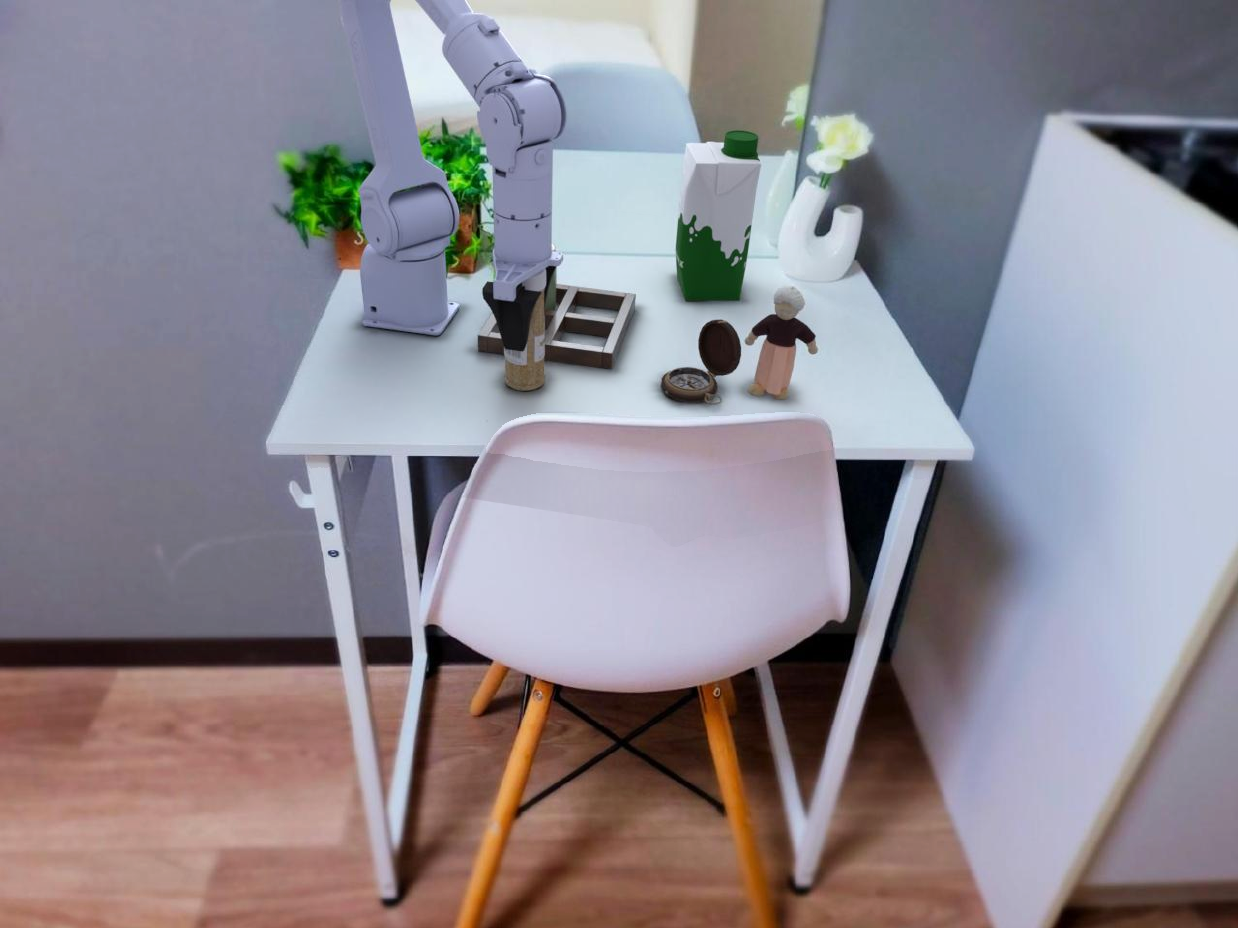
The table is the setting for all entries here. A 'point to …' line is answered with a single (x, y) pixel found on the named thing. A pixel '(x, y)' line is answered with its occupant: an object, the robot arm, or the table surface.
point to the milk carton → (716, 216)
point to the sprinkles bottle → (529, 345)
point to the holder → (575, 327)
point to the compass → (706, 364)
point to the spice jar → (552, 291)
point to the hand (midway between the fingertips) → (523, 333)
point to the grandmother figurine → (780, 343)
